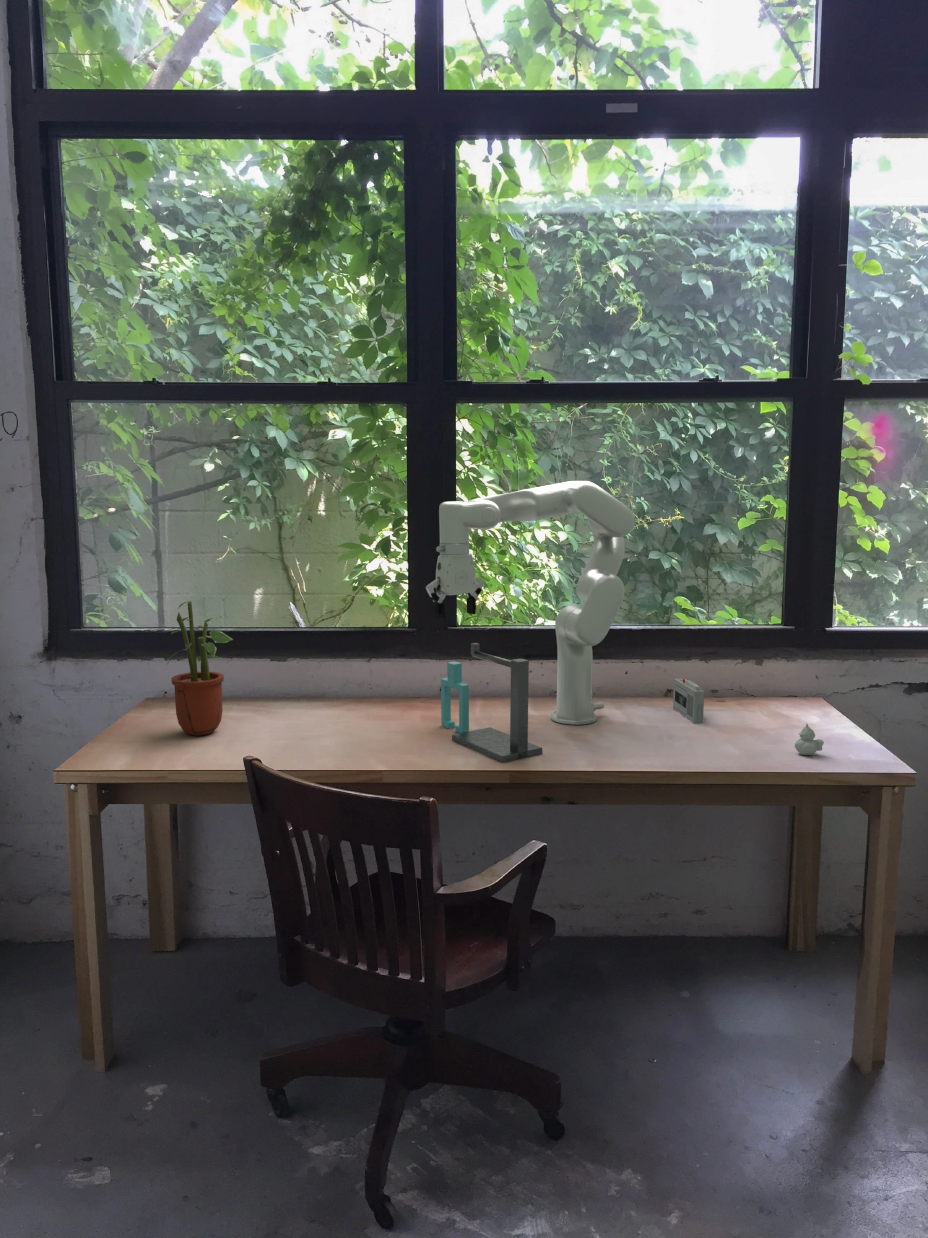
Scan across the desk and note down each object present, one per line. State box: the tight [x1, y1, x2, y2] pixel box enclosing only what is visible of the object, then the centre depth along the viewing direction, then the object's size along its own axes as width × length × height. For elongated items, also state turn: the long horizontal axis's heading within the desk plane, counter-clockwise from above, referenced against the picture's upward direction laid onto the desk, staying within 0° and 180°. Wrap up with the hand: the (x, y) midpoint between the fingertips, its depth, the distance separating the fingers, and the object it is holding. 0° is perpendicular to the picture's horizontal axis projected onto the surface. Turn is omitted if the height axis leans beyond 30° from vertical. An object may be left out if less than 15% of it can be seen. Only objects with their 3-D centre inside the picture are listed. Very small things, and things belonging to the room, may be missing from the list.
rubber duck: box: [794, 722, 825, 756], centre depth 217 cm, size 5×7×8 cm
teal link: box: [440, 661, 470, 734], centre depth 238 cm, size 10×2×18 cm, turn 35°
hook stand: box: [451, 642, 543, 763], centre depth 222 cm, size 12×22×25 cm, turn 34°
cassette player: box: [672, 678, 705, 724], centre depth 252 cm, size 16×3×10 cm, turn 8°
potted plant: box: [166, 600, 234, 737], centre depth 236 cm, size 17×16×35 cm
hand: (455, 615), depth 235 cm, fingers open, 9 cm apart
